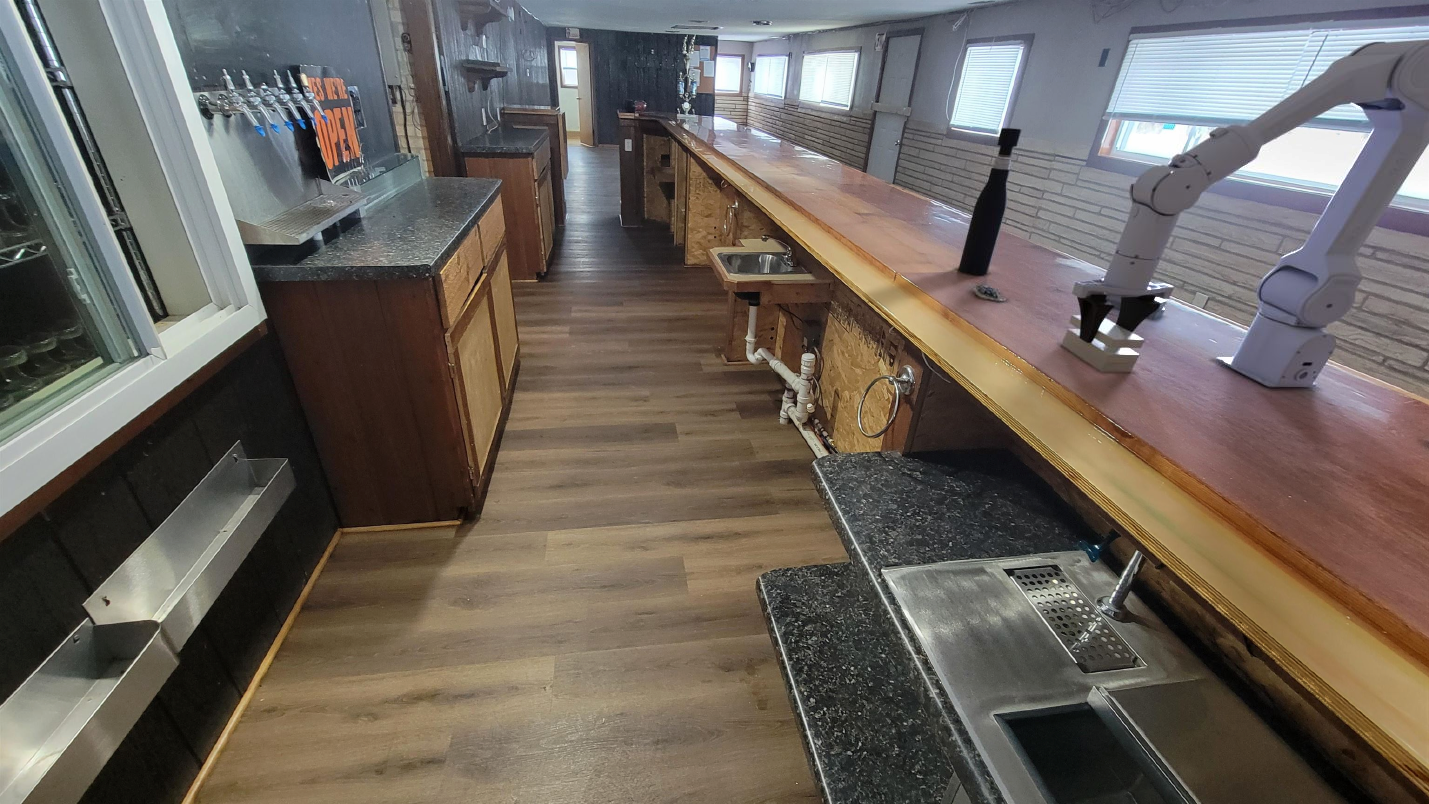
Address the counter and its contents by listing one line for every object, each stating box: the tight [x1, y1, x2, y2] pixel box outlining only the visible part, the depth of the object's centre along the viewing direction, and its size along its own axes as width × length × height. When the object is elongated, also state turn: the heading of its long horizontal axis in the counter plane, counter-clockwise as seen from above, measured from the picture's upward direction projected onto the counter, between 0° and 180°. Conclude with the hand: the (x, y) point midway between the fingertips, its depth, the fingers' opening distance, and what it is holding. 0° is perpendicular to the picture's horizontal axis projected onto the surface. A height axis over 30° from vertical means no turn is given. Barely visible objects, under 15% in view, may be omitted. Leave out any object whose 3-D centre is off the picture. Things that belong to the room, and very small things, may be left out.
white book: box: [1068, 314, 1145, 349], centre depth 88 cm, size 10×5×1 cm, turn 5°
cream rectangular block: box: [1060, 328, 1140, 372], centre depth 90 cm, size 10×5×3 cm, turn 5°
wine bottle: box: [958, 127, 1023, 276], centre depth 124 cm, size 6×6×30 cm
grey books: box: [1106, 297, 1168, 321], centre depth 111 cm, size 10×4×3 cm, turn 35°
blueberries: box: [970, 284, 1007, 302], centre depth 116 cm, size 7×8×2 cm
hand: (1101, 340), depth 89 cm, fingers closed on white book, 5 cm apart
